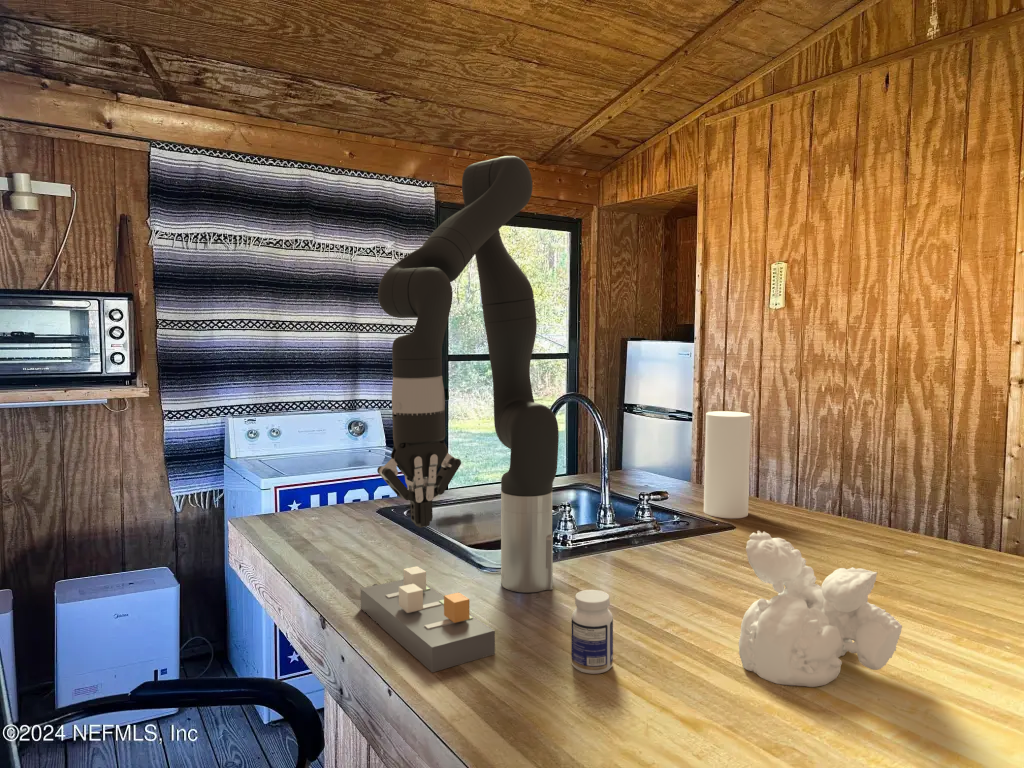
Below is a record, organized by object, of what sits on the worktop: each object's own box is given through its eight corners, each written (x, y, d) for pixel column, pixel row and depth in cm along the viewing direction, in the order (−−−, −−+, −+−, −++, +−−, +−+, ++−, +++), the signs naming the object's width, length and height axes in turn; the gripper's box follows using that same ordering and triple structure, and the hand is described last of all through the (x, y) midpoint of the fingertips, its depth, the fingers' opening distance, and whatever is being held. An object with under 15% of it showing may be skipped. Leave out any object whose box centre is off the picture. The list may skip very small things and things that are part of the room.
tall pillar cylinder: (719, 505, 188) (722, 410, 186) (756, 513, 180) (759, 414, 178) (694, 511, 182) (697, 413, 180) (731, 520, 173) (734, 417, 171)
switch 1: (412, 592, 116) (411, 574, 116) (403, 586, 119) (403, 568, 118) (426, 589, 117) (426, 571, 117) (417, 583, 120) (417, 566, 120)
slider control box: (347, 597, 125) (347, 576, 124) (401, 586, 130) (401, 566, 130) (432, 672, 98) (432, 646, 98) (494, 654, 103) (494, 629, 103)
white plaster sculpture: (693, 606, 98) (767, 509, 107) (729, 697, 107) (795, 601, 116) (829, 663, 83) (900, 546, 93) (857, 763, 92) (920, 648, 102)
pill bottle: (586, 652, 104) (586, 584, 103) (620, 663, 100) (621, 594, 100) (562, 666, 100) (563, 596, 99) (598, 679, 96) (599, 606, 95)
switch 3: (454, 622, 104) (454, 602, 104) (444, 615, 107) (443, 595, 107) (469, 619, 106) (469, 599, 105) (458, 611, 108) (458, 592, 108)
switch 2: (407, 612, 108) (407, 593, 108) (398, 605, 111) (398, 586, 110) (423, 609, 109) (422, 589, 109) (413, 602, 112) (413, 583, 112)
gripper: (446, 402, 111) (449, 512, 112) (365, 409, 103) (369, 527, 105) (471, 406, 105) (473, 523, 106) (386, 414, 97) (390, 540, 99)
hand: (421, 525), depth 106 cm, fingers closed
